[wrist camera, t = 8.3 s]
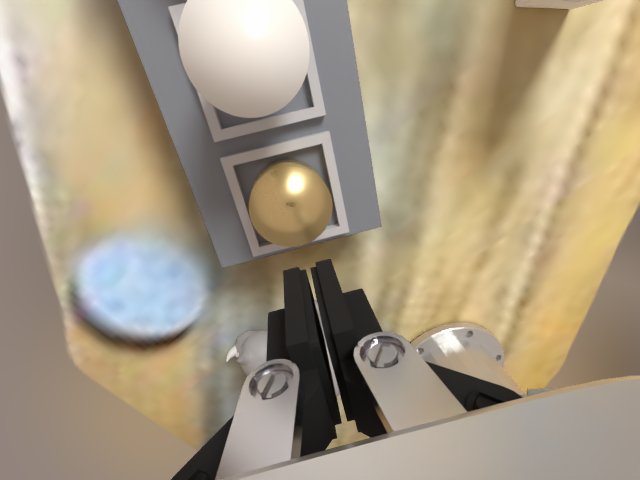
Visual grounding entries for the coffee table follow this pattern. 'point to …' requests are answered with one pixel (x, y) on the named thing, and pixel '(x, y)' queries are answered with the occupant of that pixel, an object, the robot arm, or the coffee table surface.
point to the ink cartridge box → (554, 3)
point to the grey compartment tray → (264, 129)
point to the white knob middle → (244, 53)
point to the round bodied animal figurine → (261, 351)
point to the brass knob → (289, 203)
